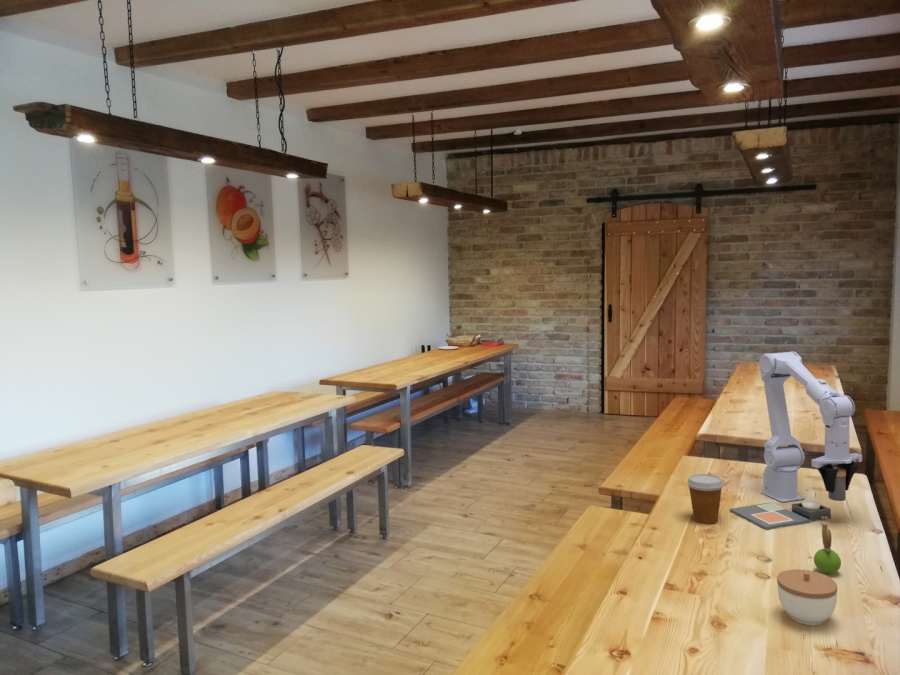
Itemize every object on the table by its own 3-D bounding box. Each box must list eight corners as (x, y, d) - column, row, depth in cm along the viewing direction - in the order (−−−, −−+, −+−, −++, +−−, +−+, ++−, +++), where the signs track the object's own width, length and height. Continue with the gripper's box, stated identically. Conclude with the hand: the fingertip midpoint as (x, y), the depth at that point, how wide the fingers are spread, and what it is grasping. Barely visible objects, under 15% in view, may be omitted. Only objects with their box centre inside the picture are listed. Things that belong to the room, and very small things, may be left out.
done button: (798, 507, 189) (798, 501, 189) (811, 505, 190) (811, 499, 190) (810, 512, 185) (810, 506, 185) (823, 510, 186) (823, 504, 186)
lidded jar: (811, 637, 128) (811, 590, 128) (765, 612, 138) (765, 568, 137) (849, 622, 133) (849, 577, 132) (802, 599, 142) (802, 557, 142)
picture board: (729, 511, 194) (729, 508, 194) (771, 504, 197) (771, 501, 197) (765, 530, 180) (765, 526, 179) (809, 522, 183) (809, 519, 183)
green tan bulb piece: (837, 566, 157) (837, 516, 155) (843, 578, 151) (843, 527, 149) (811, 564, 158) (811, 515, 157) (816, 576, 152) (816, 525, 151)
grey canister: (824, 497, 182) (824, 468, 181) (837, 494, 183) (837, 466, 182) (836, 501, 178) (836, 472, 177) (849, 499, 179) (849, 470, 178)
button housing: (791, 513, 190) (791, 504, 190) (811, 509, 192) (811, 501, 192) (810, 521, 184) (810, 512, 183) (830, 518, 185) (830, 508, 185)
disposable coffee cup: (687, 524, 186) (686, 482, 185) (688, 512, 195) (687, 472, 194) (724, 527, 183) (723, 485, 181) (724, 515, 191) (723, 474, 190)
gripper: (826, 447, 174) (826, 498, 175) (871, 441, 177) (871, 491, 178) (805, 441, 180) (805, 490, 182) (850, 435, 184) (849, 483, 185)
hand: (836, 490), depth 181 cm, fingers closed on grey canister, 4 cm apart
